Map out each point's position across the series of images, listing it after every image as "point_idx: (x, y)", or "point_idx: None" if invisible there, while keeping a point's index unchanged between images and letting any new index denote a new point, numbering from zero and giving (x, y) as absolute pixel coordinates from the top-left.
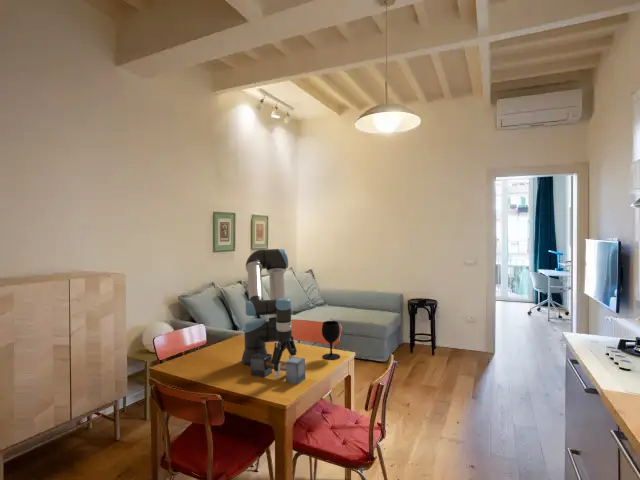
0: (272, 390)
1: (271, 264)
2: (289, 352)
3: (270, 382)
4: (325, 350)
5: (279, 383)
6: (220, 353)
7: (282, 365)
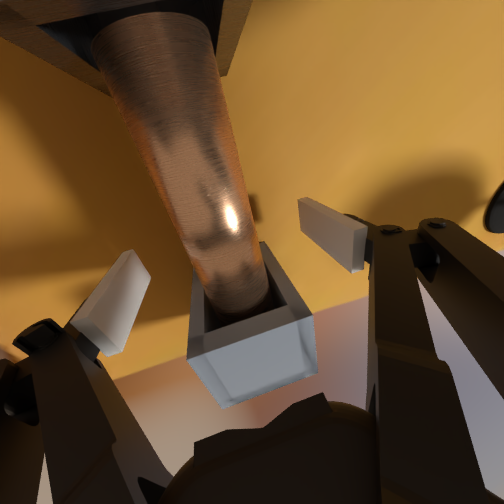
0: (77, 291)
1: None
2: (373, 254)
3: (119, 207)
4: None
5: (156, 253)
6: None
7: (198, 275)
